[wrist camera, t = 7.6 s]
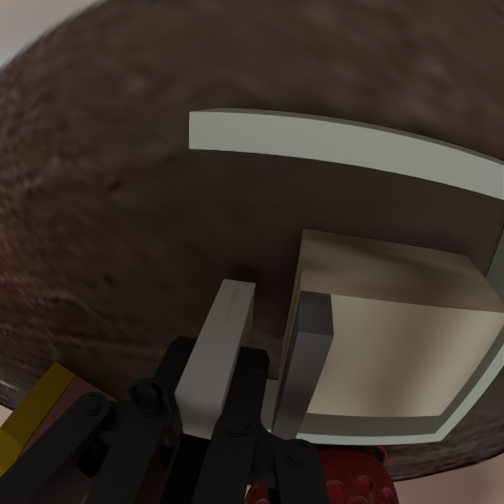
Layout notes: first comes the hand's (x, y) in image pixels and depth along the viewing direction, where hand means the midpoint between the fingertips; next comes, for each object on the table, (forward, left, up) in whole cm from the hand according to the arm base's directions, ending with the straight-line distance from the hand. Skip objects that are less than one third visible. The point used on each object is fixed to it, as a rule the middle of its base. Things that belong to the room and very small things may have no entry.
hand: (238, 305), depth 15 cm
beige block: (+7, 0, -2) cm, 7 cm away
